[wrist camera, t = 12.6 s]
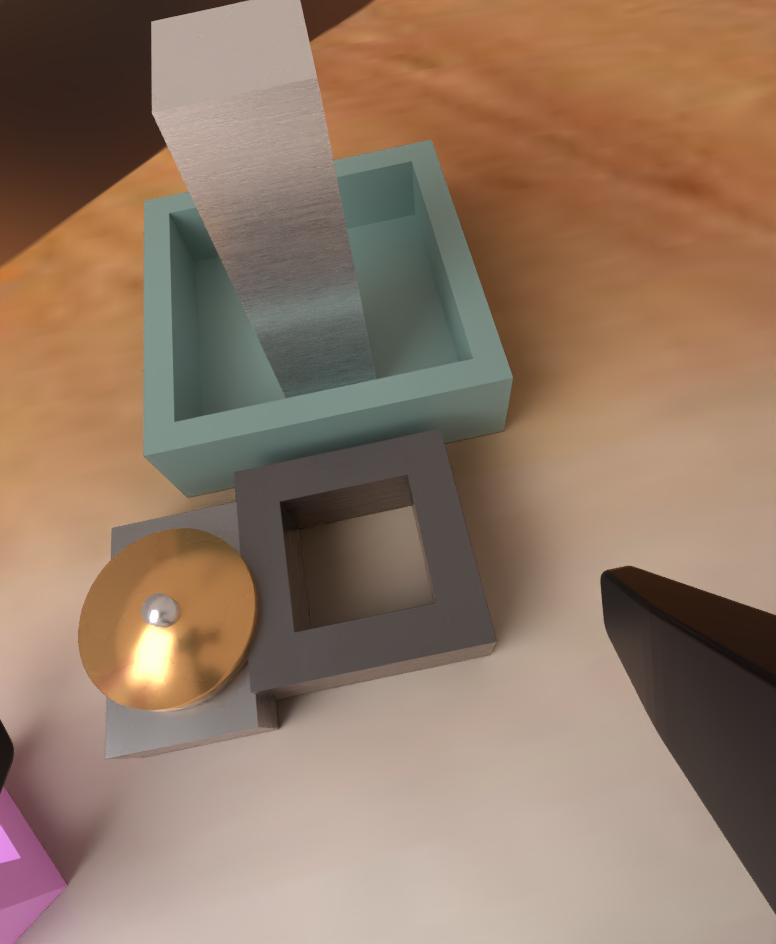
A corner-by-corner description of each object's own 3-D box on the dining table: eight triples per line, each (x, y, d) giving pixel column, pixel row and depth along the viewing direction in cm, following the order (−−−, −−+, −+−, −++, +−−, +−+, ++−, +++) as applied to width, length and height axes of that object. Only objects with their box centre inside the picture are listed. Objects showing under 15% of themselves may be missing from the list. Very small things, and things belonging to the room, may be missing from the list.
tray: (503, 431, 25) (513, 377, 21) (187, 497, 25) (143, 456, 21) (433, 209, 31) (431, 139, 27) (179, 263, 31) (144, 201, 28)
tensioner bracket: (497, 683, 21) (508, 669, 17) (129, 760, 21) (57, 763, 17) (441, 463, 25) (440, 411, 21) (131, 528, 25) (74, 489, 21)
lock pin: (377, 385, 25) (317, 77, 14) (288, 404, 25) (151, 112, 14) (362, 316, 27) (297, -10, 15) (279, 333, 27) (151, 21, 15)
